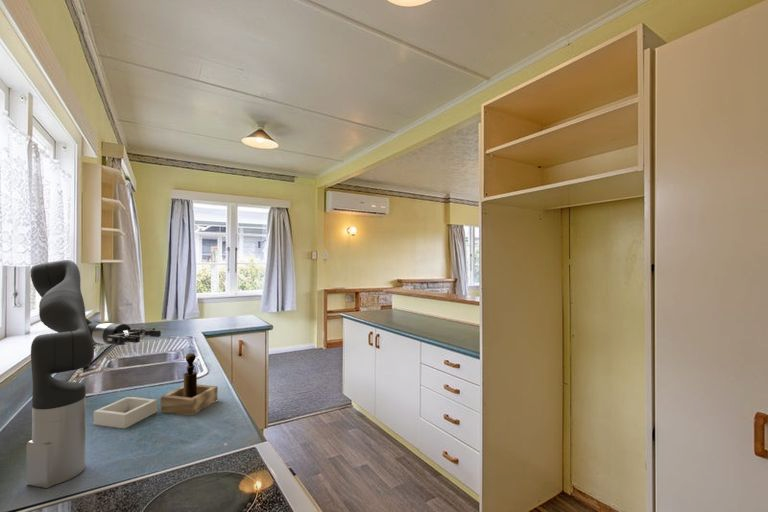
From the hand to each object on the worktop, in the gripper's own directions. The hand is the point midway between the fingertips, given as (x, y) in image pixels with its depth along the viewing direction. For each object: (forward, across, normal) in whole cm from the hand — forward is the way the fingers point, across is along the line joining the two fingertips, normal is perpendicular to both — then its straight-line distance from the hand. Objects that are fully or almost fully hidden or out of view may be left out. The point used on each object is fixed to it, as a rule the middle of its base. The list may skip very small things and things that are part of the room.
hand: (149, 336), depth 124 cm
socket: (+17, 0, +23) cm, 28 cm away
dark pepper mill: (+17, 0, +23) cm, 28 cm away
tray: (+4, -12, +23) cm, 26 cm away
